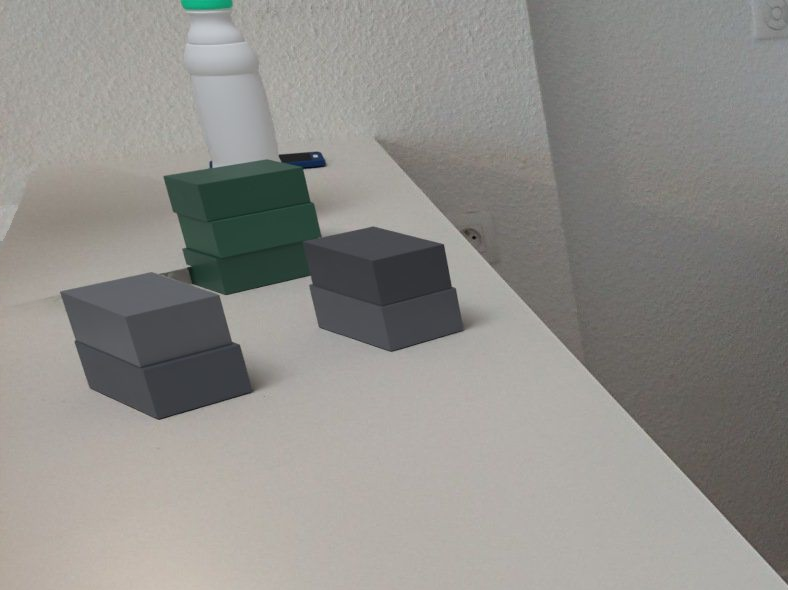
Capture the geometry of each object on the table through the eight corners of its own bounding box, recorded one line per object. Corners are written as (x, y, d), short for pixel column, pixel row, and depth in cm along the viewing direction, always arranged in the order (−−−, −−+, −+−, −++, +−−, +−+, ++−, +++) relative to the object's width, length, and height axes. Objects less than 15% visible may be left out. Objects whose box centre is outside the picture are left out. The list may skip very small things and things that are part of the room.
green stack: (226, 295, 120) (207, 222, 117) (191, 283, 124) (171, 212, 121) (329, 271, 128) (314, 202, 124) (293, 260, 131) (277, 193, 128)
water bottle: (219, 235, 140) (153, -13, 129) (237, 220, 146) (176, -18, 135) (288, 232, 141) (229, -14, 130) (303, 217, 148) (248, -18, 136)
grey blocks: (158, 419, 93) (126, 318, 89) (89, 387, 98) (57, 291, 95) (464, 330, 111) (448, 243, 107) (390, 307, 117) (373, 224, 113)
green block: (207, 222, 117) (197, 184, 116) (172, 212, 121) (162, 175, 119) (311, 202, 124) (303, 166, 123) (275, 193, 128) (267, 159, 126)
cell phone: (326, 165, 173) (325, 160, 173) (210, 175, 168) (209, 169, 167) (322, 156, 179) (320, 150, 179) (210, 165, 173) (208, 159, 173)
